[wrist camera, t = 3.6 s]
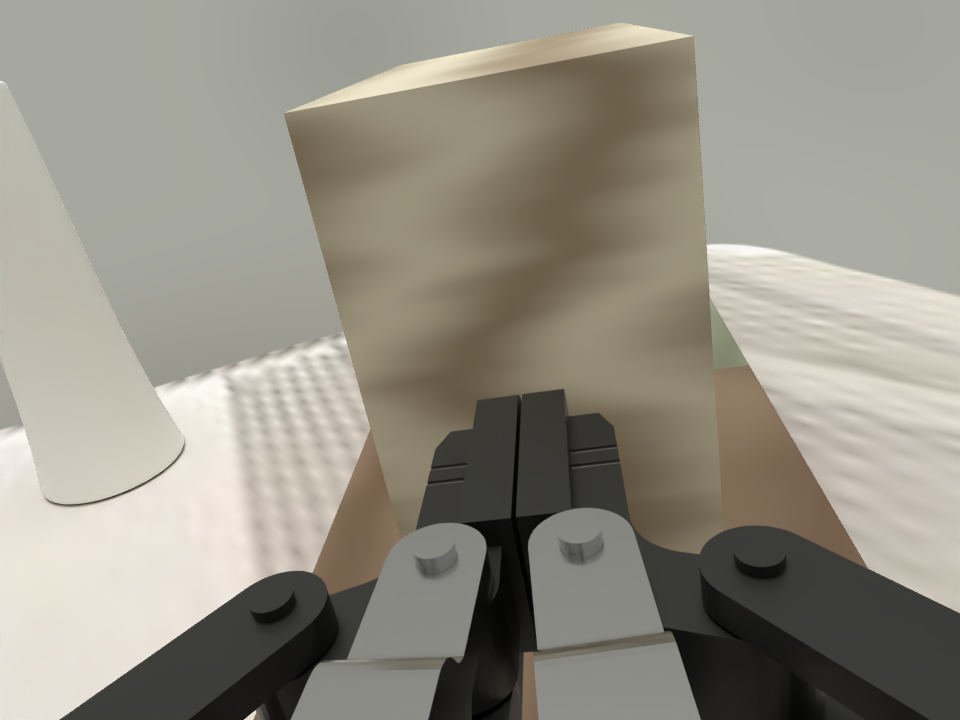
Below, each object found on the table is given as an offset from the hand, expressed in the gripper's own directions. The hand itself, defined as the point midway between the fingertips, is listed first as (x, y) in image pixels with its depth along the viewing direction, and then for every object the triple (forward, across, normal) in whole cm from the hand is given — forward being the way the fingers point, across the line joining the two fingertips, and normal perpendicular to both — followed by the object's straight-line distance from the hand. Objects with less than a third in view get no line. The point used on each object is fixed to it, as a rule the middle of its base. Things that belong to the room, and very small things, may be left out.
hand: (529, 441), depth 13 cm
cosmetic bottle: (+16, +20, +8) cm, 27 cm away
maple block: (+11, 0, +6) cm, 13 cm away
